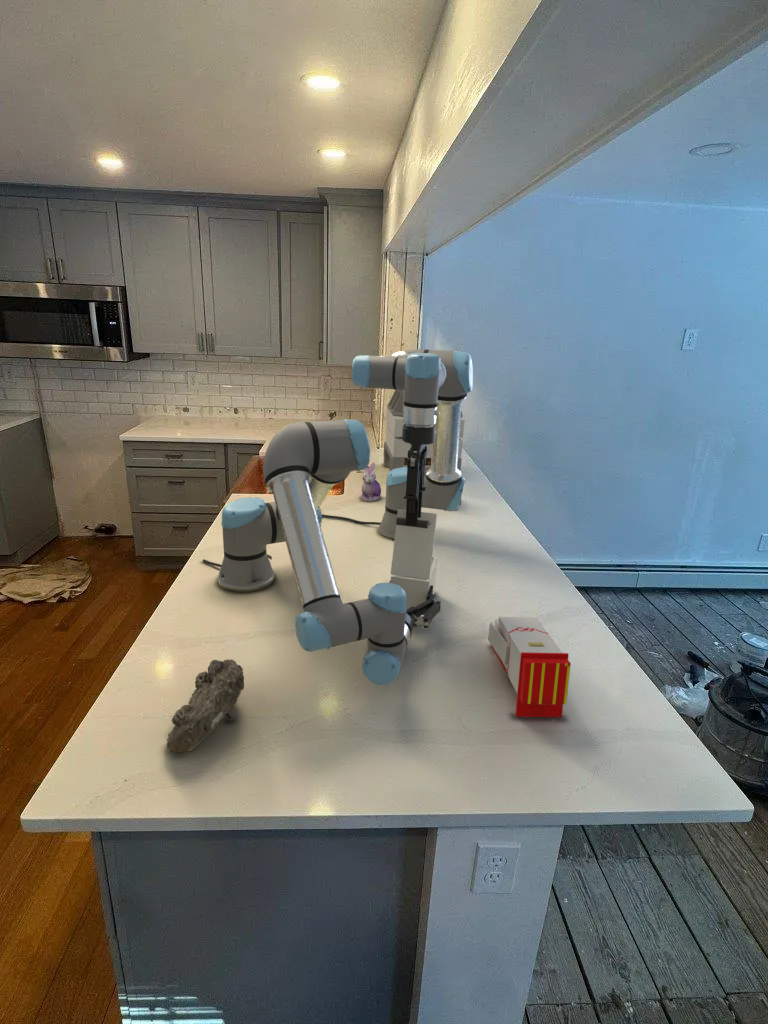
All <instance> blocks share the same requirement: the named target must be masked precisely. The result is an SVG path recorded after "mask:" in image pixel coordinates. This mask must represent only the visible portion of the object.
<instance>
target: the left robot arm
mask: <svg viewBox="0 0 768 1024" xmlns="http://www.w3.org/2000/svg"><path fill="white" fill-rule="evenodd" d="M263 457H264V458H263V464H262V465H263V466H262V472H263V481H264V484H265V488H266V491H267V492H269V493H270V494H272V495H273V499H274V501H271V502H270V501H269V502H265V500H264V499H263V498H260V497H251V496H249V497H243V498H239V499H235V500H233V501H230V502H229V503H227V504H226V505H225V506H224V507H223V508H222V511H221V524H220V525H221V527H222V543H223V546H222V547H223V559H222V563H217V562H212V561H209V560H207V559H204V558H203V559H202V562H203V563H205V564H208V565H210V566H215V567H218V568H220V569H219V572H218V585H219V586H220V587H221V588H223V589H224V590H227V591H230V592H236V593H250V592H251V593H252V592H256V591H260V590H262V589H266V588H267V587H269V586H270V585H272V584H273V582H274V579H275V573H274V569H273V567H272V564H271V561H272V559H273V557H272V555H269V554H268V553H267V545H272V544H278V543H285V544H286V549H287V552H288V556H289V560H290V564H291V567H292V571H293V574H294V578H295V583H296V586H297V590H298V594H299V598H300V602H301V605H302V609H303V612H301V613H299V614H297V615H296V617H295V622H294V625H295V626H294V627H295V633H296V638H297V641H298V644H299V646H300V647H301V649H302V650H304V651H305V652H308V653H312V652H316V651H322V650H330V649H333V648H335V647H338V646H339V647H340V646H343V645H347V644H350V643H355V642H359V641H363V640H366V641H367V642H366V643H367V645H366V653H365V654H364V656H363V662H362V665H361V666H362V668H361V669H362V673H363V675H364V677H365V678H366V679H367V680H368V681H369V682H371V683H372V684H375V685H379V686H387V685H390V684H392V683H393V682H394V681H396V680H397V678H398V676H399V673H400V672H401V670H402V665H403V661H404V659H405V655H406V652H407V649H408V646H409V644H410V641H411V637H412V634H413V631H414V628H415V627H417V626H418V625H419V626H422V628H423V629H427V630H428V629H429V625H430V623H431V622H432V621H433V620H434V619H435V618H436V616H437V615H438V614H439V613H440V612H441V606H442V601H440V600H436V598H437V597H436V594H435V593H434V594H433V586H430V589H429V592H428V595H427V599H426V601H425V602H423V603H421V604H419V605H418V606H416V607H411V608H409V609H407V600H406V593H405V591H404V589H403V588H401V587H400V586H398V585H396V584H392V583H391V579H390V580H389V582H379V583H376V584H374V585H373V586H371V588H370V589H369V591H368V595H367V598H365V599H360V600H356V601H352V602H347V603H343V601H342V598H341V593H340V591H339V587H338V583H337V580H336V577H335V576H336V575H335V573H334V569H333V566H332V563H331V558H330V555H329V552H328V548H327V544H326V541H325V537H324V533H323V531H322V523H323V517H322V509H321V505H322V503H324V500H325V499H326V498H327V496H328V494H329V493H330V492H331V490H332V489H333V487H334V486H335V485H338V484H341V483H342V482H344V481H346V479H347V478H348V477H349V475H350V474H351V472H356V471H357V472H361V471H365V470H364V469H366V468H367V466H368V467H369V464H370V461H371V446H370V440H369V435H368V432H367V430H366V428H365V426H364V425H363V423H362V422H360V420H357V419H347V418H344V419H335V420H334V419H333V420H318V421H317V420H315V421H296V422H292V423H288V424H287V425H285V426H283V427H282V428H281V429H279V430H278V431H276V433H275V435H273V436H272V438H271V439H270V442H269V443H268V445H267V447H266V450H265V454H264V456H263ZM270 560H271V561H270ZM420 616H422V617H421V618H420V619H417V618H419V617H420Z"/></svg>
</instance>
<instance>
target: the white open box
mask: <svg viewBox="0 0 768 1024" xmlns="http://www.w3.org/2000/svg"><path fill="white" fill-rule="evenodd" d="M437 564H438V556H435V555H432V564H431V573H430V579H429V580H428V579H421V578H413V577H406V576H399V575H391V574H390V575H391V576H390V580H391V583H392V584H396V585H398V586H400V587H401V588H403V589H404V591H405V593H406V600H407V609H409V608H411V607H416V606H418V605H419V604H421V603H423V602H425V601H426V599H427V595H428V592H429V589H430V586H433V594H434V595H435V588H436V576H437ZM421 617H422V616H420V617H419V618H417V619H420V618H421Z"/></svg>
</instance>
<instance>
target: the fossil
mask: <svg viewBox="0 0 768 1024" xmlns="http://www.w3.org/2000/svg"><path fill="white" fill-rule="evenodd" d="M243 670H244V669H243V667H242V665H240V664H237V662H236V661H235V660H234V659H232V658H231V659H227V658H226V659H224V660H223V661H222V660H217V659H212V660H211V661H210V663H209V665H208V666H207V671H201V672H199V673H198V674H197V675H196V676H195V680H194V684H195V685H194V687H195V689H194V690H193V693H192V694H191V697H190V698H189V700H188V704H184V705H182V706H181V707H180V709H177V710H176V711H175V713H174V715H173V716H172V718H171V723H172V724H173V727H172V730H171V731H170V732H168V734H167V738H166V741H167V742H166V745H167V749H168V750H169V751H173V752H174V753H176V754H178V753H182V752H188V751H189V752H192V751H193V750H195V748H196V747H197V746H199V744H200V743H201V742H203V741H204V740H205V739H206V738H207V737H208V736H209V735H210V734H211V733H212V732H214V730H215V729H217V727H218V726H219V724H220V722H221V721H222V720H223V719H224V718H225V716H226V717H227V719H229V720H233V717H232V715H230V714H229V710H230V709H231V708H234V706H235V704H236V703H237V702H238V699H239V697H240V695H241V693H242V691H243V690H245V689H244V688H245V675H244V671H243Z"/></svg>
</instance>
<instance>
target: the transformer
mask: <svg viewBox="0 0 768 1024" xmlns="http://www.w3.org/2000/svg"><path fill="white" fill-rule="evenodd" d="M404 395H405V390H394V392H393V394H392V395H391V398H390V400H389V402H388V404H387V405H386V413H385V414H386V415H385V423H386V428H385V438H384V442H383V466H384V467H388V468H389V472H390V471H391V470H393V469H396V468H401V467H405V466H407V459H408V450H410V448H411V444H410V443H406V442H404V441H403V440H402V428H403V425H404V424H405V423H404V422H403V406H404ZM464 429H465V419H464V418H463V411H461V417H460V431H459V446H458V461H457V468H458V469H459V470H460V472H461V473H462V461H463V460H462V453H463V442H464V441H463V440H462V439H463V438H464V431H465V430H464ZM425 446H427V455H426V464H425V467H431V458H432V444H428V445H425Z"/></svg>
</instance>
